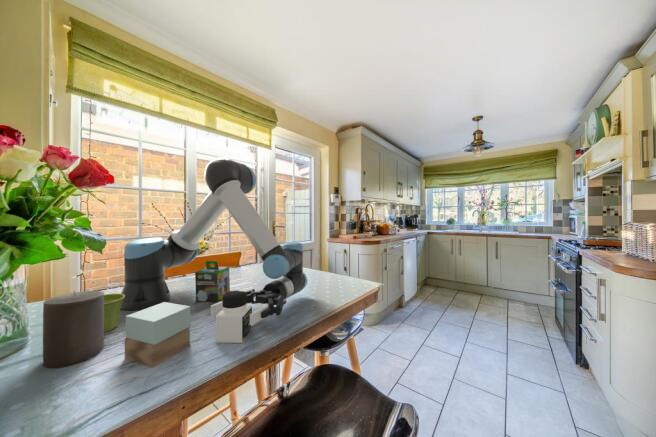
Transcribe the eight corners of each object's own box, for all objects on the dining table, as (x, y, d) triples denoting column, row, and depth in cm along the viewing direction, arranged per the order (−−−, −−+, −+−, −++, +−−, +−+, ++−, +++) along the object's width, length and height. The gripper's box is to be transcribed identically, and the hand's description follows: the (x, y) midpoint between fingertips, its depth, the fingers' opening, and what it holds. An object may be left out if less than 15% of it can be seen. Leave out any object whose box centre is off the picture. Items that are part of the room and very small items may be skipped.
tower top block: (125, 337, 54) (125, 315, 54) (164, 320, 62) (164, 301, 62) (154, 344, 51) (154, 321, 51) (190, 326, 59) (190, 306, 59)
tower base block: (124, 360, 53) (124, 338, 53) (163, 340, 62) (163, 321, 62) (153, 368, 51) (152, 345, 51) (189, 346, 59) (189, 326, 59)
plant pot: (121, 318, 74) (121, 291, 74) (128, 327, 68) (128, 298, 68) (78, 329, 67) (77, 299, 67) (81, 341, 61) (81, 308, 61)
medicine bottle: (242, 343, 60) (242, 296, 60) (215, 343, 60) (214, 296, 60) (252, 329, 67) (252, 288, 67) (227, 329, 67) (227, 287, 67)
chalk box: (230, 294, 97) (230, 258, 96) (217, 302, 88) (217, 263, 87) (209, 293, 98) (209, 257, 97) (194, 301, 88) (194, 262, 88)
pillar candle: (48, 374, 48) (48, 301, 48) (38, 358, 53) (38, 292, 53) (110, 351, 57) (111, 289, 56) (96, 339, 62) (96, 282, 61)
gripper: (310, 307, 77) (269, 339, 57) (249, 296, 86) (197, 320, 67) (310, 284, 76) (269, 308, 57) (249, 276, 86) (197, 294, 67)
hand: (230, 315), depth 62 cm, fingers open, 13 cm apart
